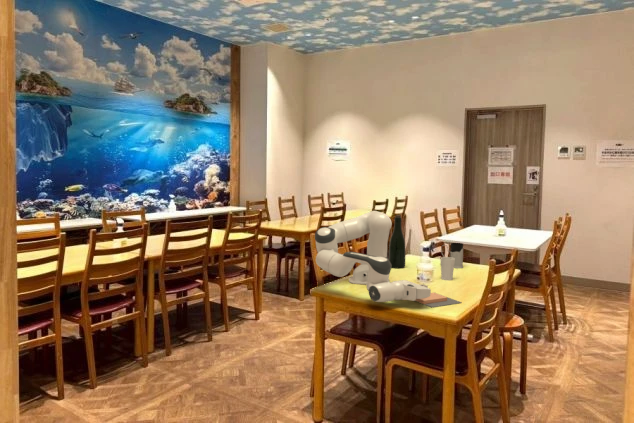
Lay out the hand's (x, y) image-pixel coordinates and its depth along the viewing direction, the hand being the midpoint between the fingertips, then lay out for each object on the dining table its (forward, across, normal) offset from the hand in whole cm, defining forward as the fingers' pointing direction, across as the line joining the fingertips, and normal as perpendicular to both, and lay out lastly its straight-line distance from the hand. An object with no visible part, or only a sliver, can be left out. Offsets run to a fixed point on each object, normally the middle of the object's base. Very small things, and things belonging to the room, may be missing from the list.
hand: (425, 286), depth 239 cm
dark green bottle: (+34, -71, -7) cm, 79 cm away
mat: (+5, 0, -7) cm, 8 cm away
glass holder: (+67, -57, -7) cm, 88 cm away
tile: (-5, 0, -6) cm, 8 cm away
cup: (+41, -32, -7) cm, 52 cm away
